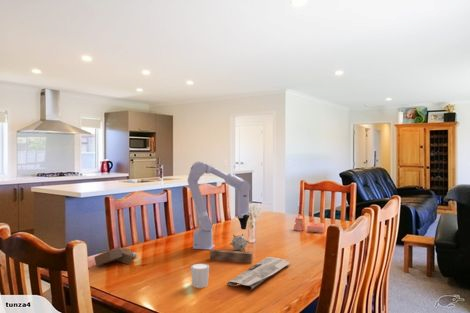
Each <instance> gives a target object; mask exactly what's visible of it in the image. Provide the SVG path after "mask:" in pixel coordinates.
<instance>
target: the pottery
mask: <svg viewBox="0 0 470 313" xmlns="http://www.w3.org/2000/svg"><path fill="white" fill-rule="evenodd" d="M294 218H295V220H294V223H295V224H294V226H293V229H294V231H296V230H297V232H302V230H303V231H305V225H304V220H303V219H304V217H303V215H301V213H299V214H297V215H296V216H294ZM324 227H325V224H324V223H323V222H322V223H321V222H308V224H307V227H306V228H307V230H306V232H307V233H313V232H318V233H317V234H324V231H323V230H324V229H325V228H324Z"/></svg>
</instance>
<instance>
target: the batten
mask: <svg viewBox="0 0 470 313" xmlns="http://www.w3.org/2000/svg"><path fill="white" fill-rule="evenodd" d="M209 253H210V254H209V259H210V260H211V261H220V262H221V261H222V262H231V263H232V262H233V263H234V262H235V263H245V264H247V263H248V264H252V262H253V252H251V251H250V252H249V251H240V250H236V251H235V250H222V249H221V250H220V249H211V250H209Z"/></svg>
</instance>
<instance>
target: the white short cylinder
mask: <svg viewBox="0 0 470 313" xmlns="http://www.w3.org/2000/svg"><path fill="white" fill-rule="evenodd" d="M209 273H210V265H209V264H208V263H195V264H192V265H191V266H190V274H191V285H192V287H193V286H194V287H193V288H195V287H197V289H202V288H203V287H204V288H206V287H207V286H208V285H209V276H210V275H209Z"/></svg>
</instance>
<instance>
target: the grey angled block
mask: <svg viewBox="0 0 470 313" xmlns="http://www.w3.org/2000/svg"><path fill="white" fill-rule="evenodd" d="M137 255H138V254H137V252H134V251H133V252H132V250H131V249H130V248H127V247H119V248H118V247H117V248H111V249H110V250H107V251H104V252H102V253H100V254H98V255H95V256H94V262H95V265H96V266H101V265H106V264H109V263H111V262H114V261H117V262H121V263H123V264H127V265H129V266H130V265H131V264H132V261H133V258H136V257H137Z"/></svg>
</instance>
